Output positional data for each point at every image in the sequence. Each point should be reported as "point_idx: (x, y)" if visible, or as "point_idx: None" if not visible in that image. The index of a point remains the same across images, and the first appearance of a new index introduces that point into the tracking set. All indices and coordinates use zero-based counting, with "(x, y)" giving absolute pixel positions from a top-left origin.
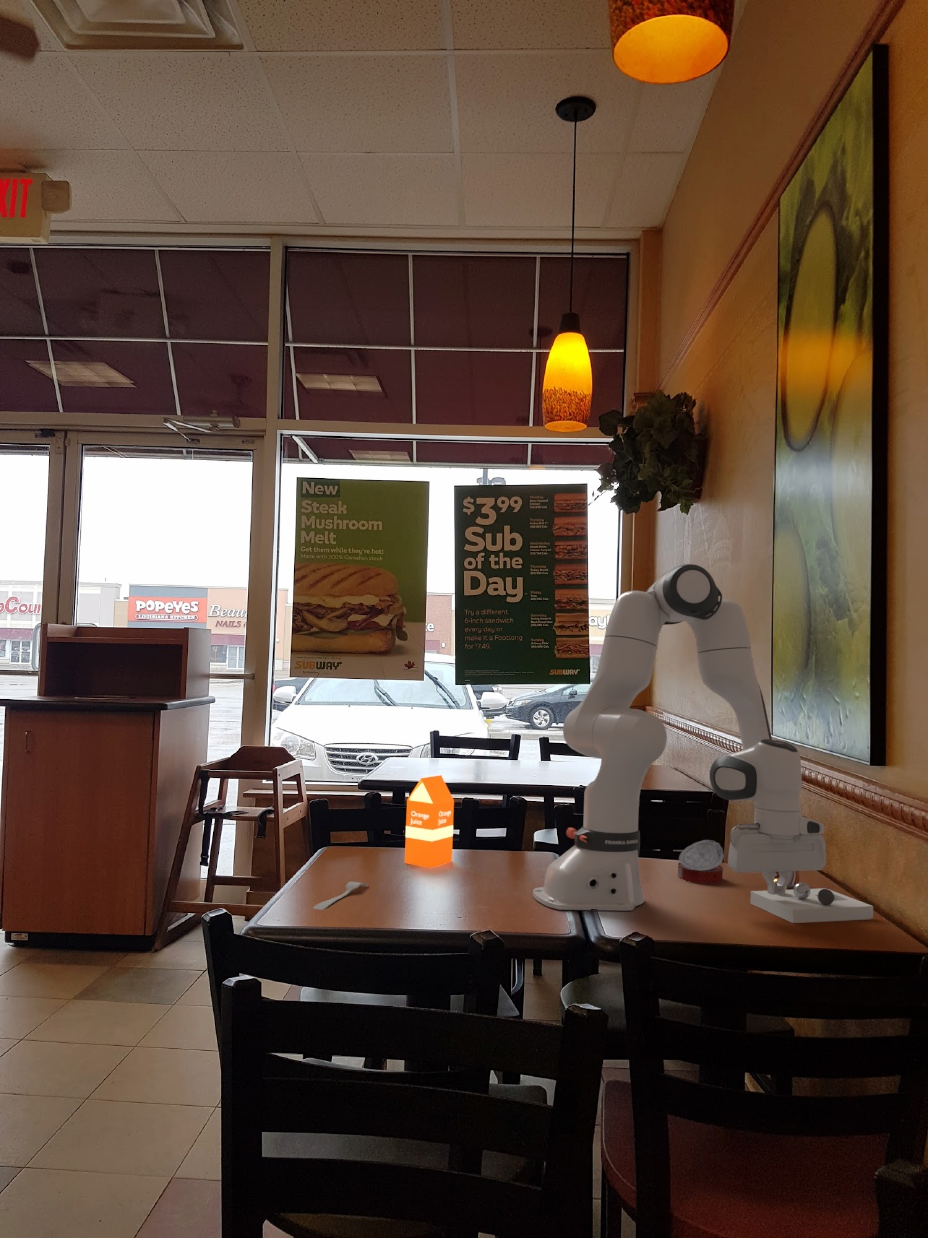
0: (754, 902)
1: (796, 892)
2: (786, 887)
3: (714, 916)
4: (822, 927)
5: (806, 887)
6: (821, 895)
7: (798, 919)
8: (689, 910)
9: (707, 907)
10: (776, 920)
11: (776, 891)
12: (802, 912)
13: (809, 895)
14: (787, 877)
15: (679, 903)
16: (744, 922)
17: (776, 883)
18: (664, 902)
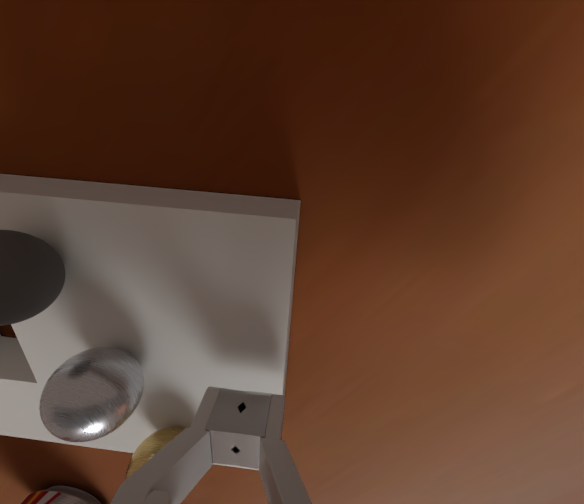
0: None
1: (136, 384)
2: (139, 447)
3: (551, 360)
4: (192, 102)
5: (62, 389)
6: (25, 276)
7: (267, 201)
8: (564, 429)
9: (463, 435)
10: (340, 257)
11: (260, 404)
12: (235, 208)
13: None
14: (153, 483)
15: (513, 480)
16: (513, 268)
17: (220, 463)
18: (551, 496)
